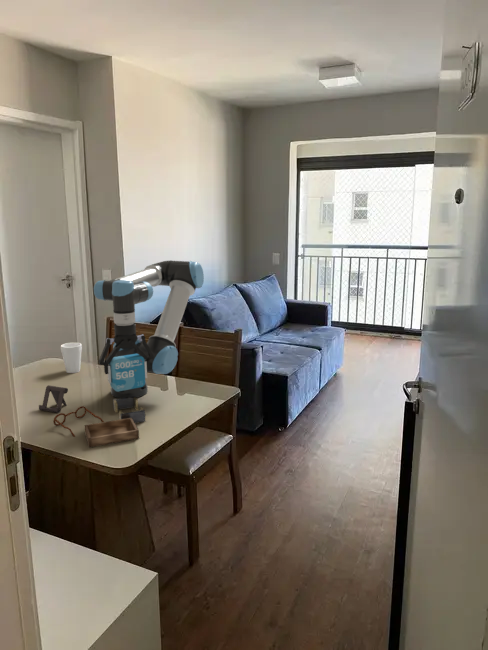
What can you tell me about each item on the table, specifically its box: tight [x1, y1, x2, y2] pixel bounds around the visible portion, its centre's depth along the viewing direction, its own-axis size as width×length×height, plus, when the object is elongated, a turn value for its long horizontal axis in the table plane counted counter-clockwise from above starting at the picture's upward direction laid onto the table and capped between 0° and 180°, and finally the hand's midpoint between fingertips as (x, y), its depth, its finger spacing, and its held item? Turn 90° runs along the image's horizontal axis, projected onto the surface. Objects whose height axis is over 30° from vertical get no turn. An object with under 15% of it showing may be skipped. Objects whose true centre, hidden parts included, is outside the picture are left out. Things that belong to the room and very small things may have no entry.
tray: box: [84, 418, 140, 449], centre depth 164 cm, size 16×12×3 cm
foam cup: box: [60, 342, 83, 374], centre depth 232 cm, size 10×9×13 cm
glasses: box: [52, 405, 105, 437], centre depth 172 cm, size 13×13×5 cm
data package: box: [109, 354, 146, 392], centre depth 179 cm, size 12×4×12 cm, turn 123°
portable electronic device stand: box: [38, 385, 69, 414], centre depth 187 cm, size 9×8×8 cm
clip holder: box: [112, 396, 146, 424], centre depth 182 cm, size 9×16×4 cm, turn 24°
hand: (127, 379), depth 179 cm, fingers closed on data package, 12 cm apart
